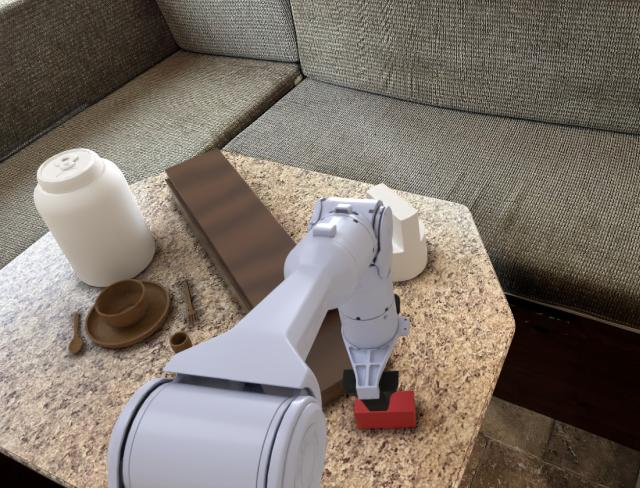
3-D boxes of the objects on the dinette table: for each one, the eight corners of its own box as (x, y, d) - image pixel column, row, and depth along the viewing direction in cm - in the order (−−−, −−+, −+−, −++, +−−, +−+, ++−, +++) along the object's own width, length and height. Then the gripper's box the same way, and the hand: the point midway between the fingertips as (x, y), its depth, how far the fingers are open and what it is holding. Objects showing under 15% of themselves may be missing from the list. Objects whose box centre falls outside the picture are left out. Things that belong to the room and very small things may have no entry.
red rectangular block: (357, 429, 73) (353, 413, 71) (359, 407, 75) (355, 391, 73) (415, 427, 72) (413, 411, 70) (415, 406, 74) (413, 390, 72)
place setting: (187, 270, 96) (175, 244, 92) (208, 368, 81) (195, 340, 78) (70, 311, 91) (53, 285, 88) (70, 421, 77) (50, 395, 73)
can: (73, 253, 101) (16, 157, 89) (148, 224, 106) (104, 128, 93) (83, 301, 93) (21, 202, 80) (165, 267, 97) (117, 168, 84)
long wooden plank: (384, 368, 79) (379, 337, 75) (309, 416, 75) (299, 386, 71) (230, 174, 115) (220, 146, 111) (172, 198, 111) (161, 170, 107)
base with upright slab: (358, 258, 95) (348, 199, 87) (404, 231, 99) (398, 173, 91) (392, 291, 89) (384, 231, 82) (439, 261, 93) (435, 202, 85)
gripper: (405, 358, 54) (415, 437, 62) (406, 243, 65) (415, 323, 74) (326, 361, 54) (347, 439, 63) (341, 247, 66) (357, 326, 74)
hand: (379, 377), depth 68 cm, fingers open, 7 cm apart
